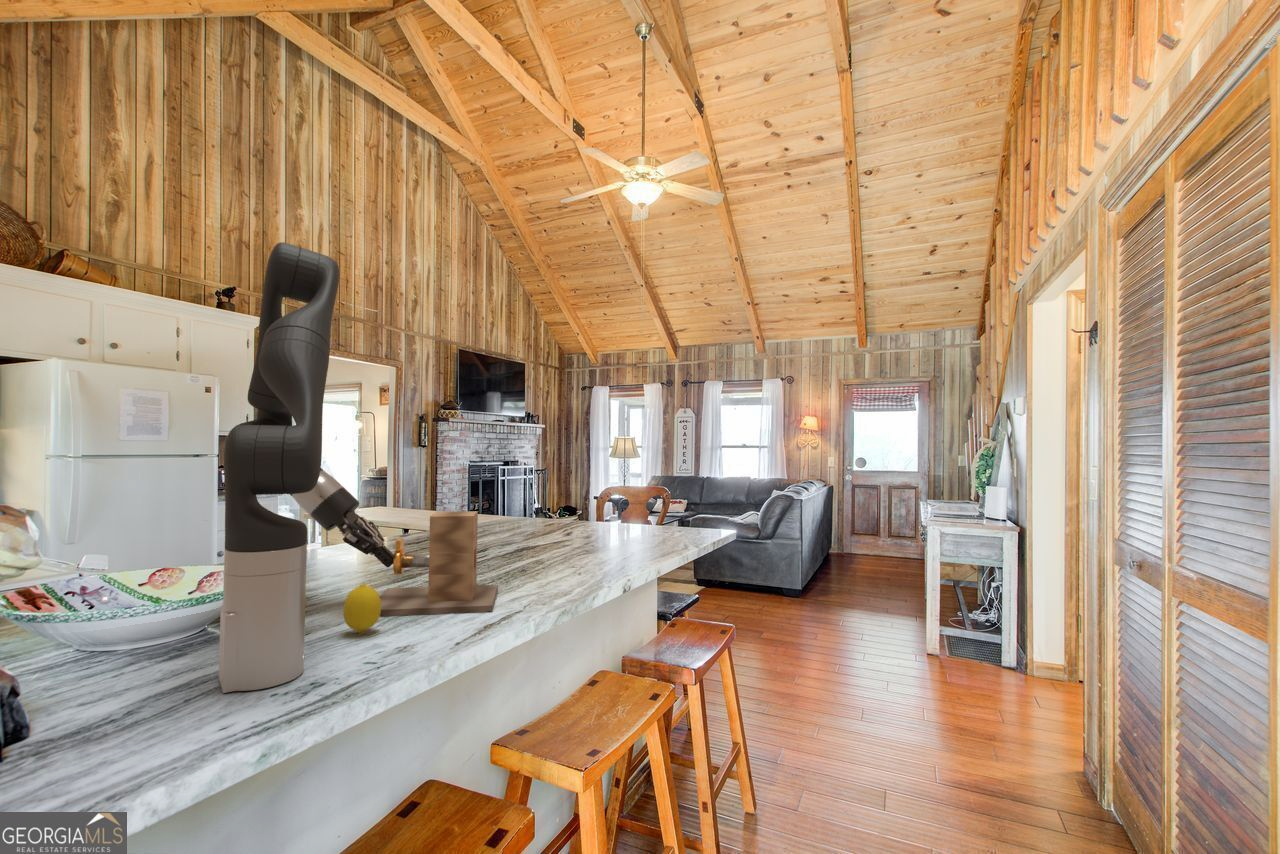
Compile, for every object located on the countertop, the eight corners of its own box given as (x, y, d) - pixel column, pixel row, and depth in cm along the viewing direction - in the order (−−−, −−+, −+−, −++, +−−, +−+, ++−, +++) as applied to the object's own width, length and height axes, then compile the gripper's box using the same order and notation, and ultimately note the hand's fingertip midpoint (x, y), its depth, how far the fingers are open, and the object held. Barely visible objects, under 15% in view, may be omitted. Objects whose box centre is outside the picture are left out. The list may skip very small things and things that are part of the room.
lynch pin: (393, 576, 110) (393, 541, 110) (398, 571, 115) (399, 537, 115) (461, 574, 112) (462, 540, 112) (464, 569, 117) (465, 536, 117)
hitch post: (365, 617, 104) (367, 520, 104) (387, 594, 119) (389, 510, 120) (492, 611, 107) (493, 518, 108) (497, 590, 123) (499, 508, 124)
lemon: (370, 639, 92) (371, 588, 92) (335, 638, 92) (337, 587, 92) (386, 628, 98) (387, 580, 98) (353, 627, 98) (354, 579, 98)
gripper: (329, 488, 104) (400, 555, 106) (352, 483, 117) (414, 543, 119) (296, 518, 103) (368, 586, 105) (322, 510, 116) (386, 570, 118)
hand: (393, 563), depth 112 cm, fingers closed
